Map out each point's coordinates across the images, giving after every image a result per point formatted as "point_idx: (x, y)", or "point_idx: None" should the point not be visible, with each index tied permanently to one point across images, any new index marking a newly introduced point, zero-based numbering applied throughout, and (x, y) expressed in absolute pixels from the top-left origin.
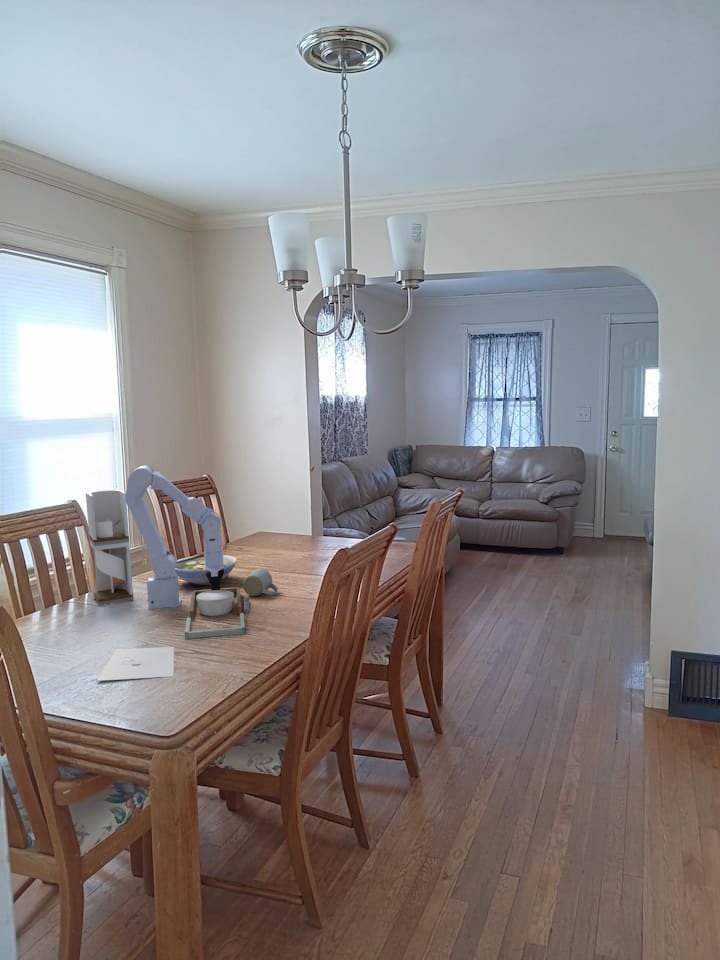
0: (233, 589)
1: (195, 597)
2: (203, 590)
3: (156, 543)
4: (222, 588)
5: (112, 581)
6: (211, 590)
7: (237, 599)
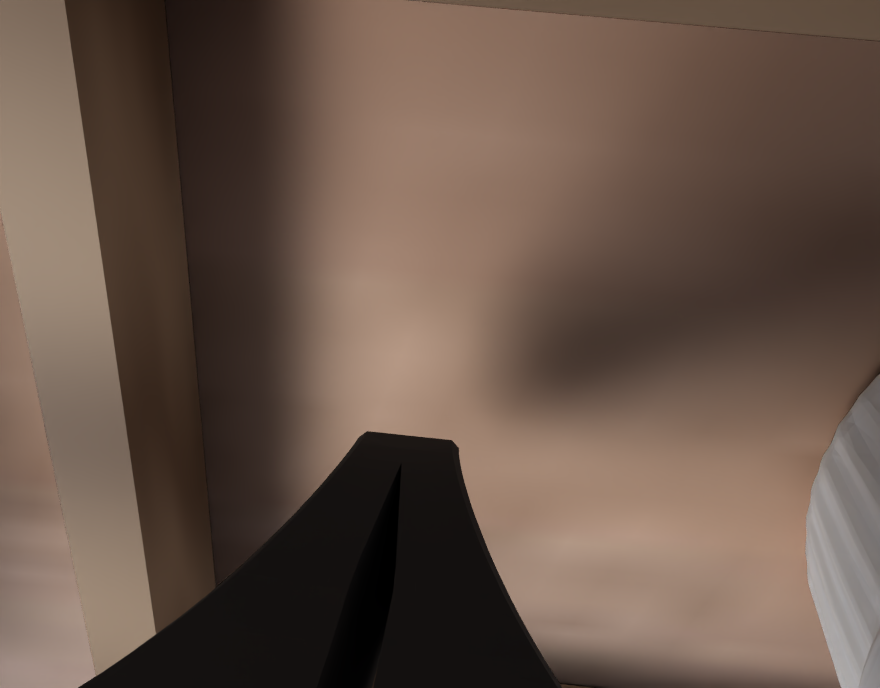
0: (89, 64)
1: None
2: None
3: None
4: (33, 337)
5: None
6: (145, 543)
7: None
